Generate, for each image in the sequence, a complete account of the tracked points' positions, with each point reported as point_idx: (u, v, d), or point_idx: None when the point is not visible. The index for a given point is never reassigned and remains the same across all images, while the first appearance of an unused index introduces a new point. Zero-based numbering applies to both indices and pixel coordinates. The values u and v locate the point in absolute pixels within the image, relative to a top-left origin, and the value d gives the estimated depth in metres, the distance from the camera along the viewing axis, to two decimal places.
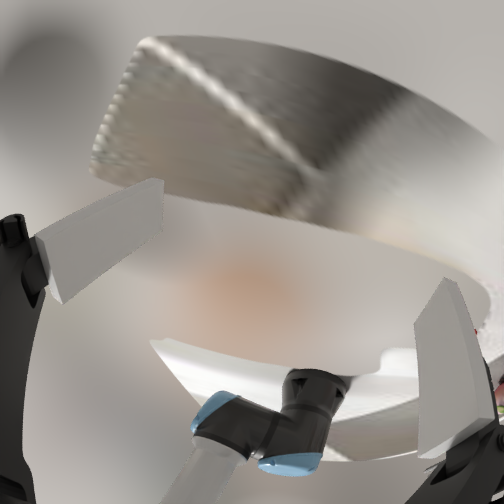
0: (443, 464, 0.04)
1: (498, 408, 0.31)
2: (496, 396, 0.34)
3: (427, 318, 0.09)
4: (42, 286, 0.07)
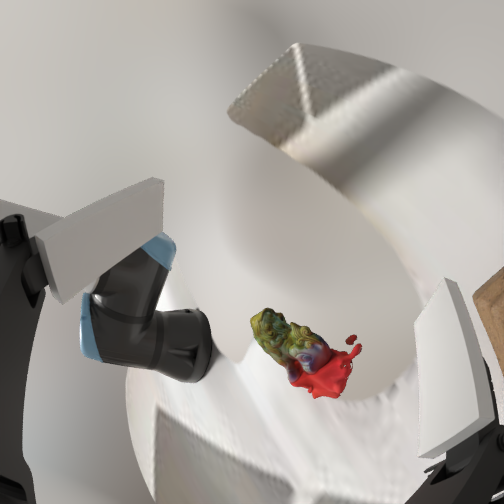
0: (443, 464, 0.04)
1: None
2: None
3: (427, 318, 0.09)
4: (42, 286, 0.07)
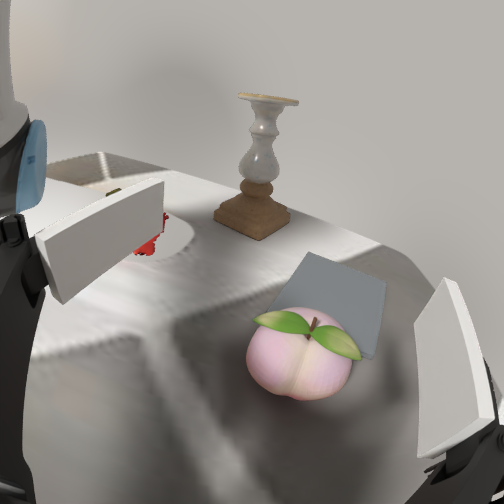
0: (443, 464, 0.04)
1: (260, 317, 0.21)
2: None
3: (427, 318, 0.09)
4: (42, 286, 0.07)
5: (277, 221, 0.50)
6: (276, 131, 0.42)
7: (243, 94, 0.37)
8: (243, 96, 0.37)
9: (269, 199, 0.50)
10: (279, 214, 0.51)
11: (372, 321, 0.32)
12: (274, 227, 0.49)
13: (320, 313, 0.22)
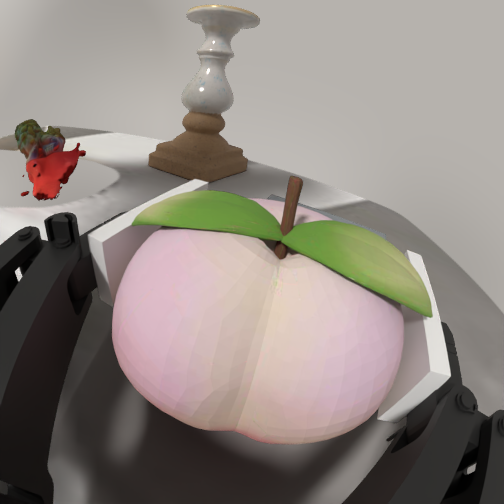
0: (403, 430, 0.06)
1: None
2: None
3: None
4: (90, 292, 0.08)
5: (229, 163, 0.36)
6: (230, 51, 0.28)
7: (192, 8, 0.23)
8: (191, 10, 0.23)
9: (219, 136, 0.36)
10: (233, 156, 0.37)
11: None
12: (225, 170, 0.36)
13: (304, 208, 0.09)
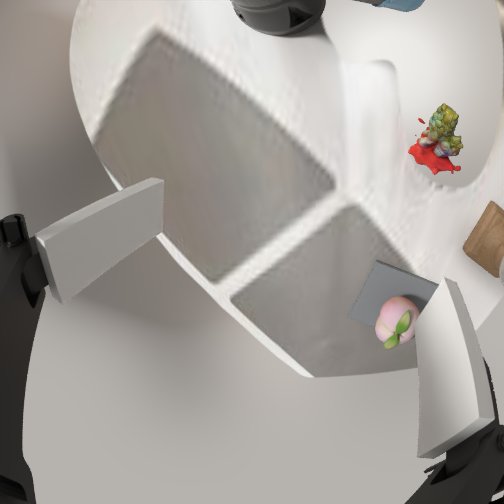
0: (443, 464, 0.04)
1: (407, 314, 0.38)
2: (406, 300, 0.41)
3: (427, 318, 0.09)
4: (42, 286, 0.07)
5: (482, 266, 0.35)
6: None
7: None
8: None
9: None
10: None
11: (374, 321, 0.50)
12: None
13: (408, 337, 0.39)
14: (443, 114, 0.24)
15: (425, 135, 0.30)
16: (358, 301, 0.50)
